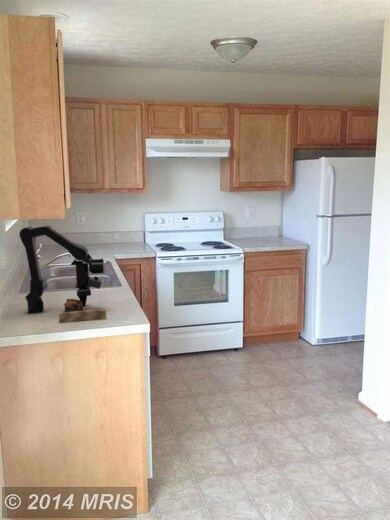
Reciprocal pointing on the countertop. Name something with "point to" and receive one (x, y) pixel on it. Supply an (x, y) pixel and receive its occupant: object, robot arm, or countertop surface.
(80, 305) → the pottery mug
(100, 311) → the walnut board
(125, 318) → the countertop surface
